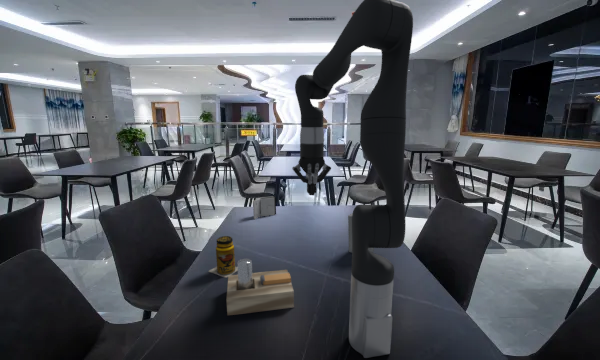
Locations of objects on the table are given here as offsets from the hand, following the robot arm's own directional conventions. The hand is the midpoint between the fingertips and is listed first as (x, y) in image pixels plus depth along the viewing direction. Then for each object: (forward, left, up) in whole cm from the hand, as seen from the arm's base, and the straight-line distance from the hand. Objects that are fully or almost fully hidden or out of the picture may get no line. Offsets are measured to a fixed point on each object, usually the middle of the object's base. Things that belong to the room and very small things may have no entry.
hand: (311, 194), depth 95 cm
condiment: (+6, +29, -28) cm, 41 cm away
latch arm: (-13, +14, -22) cm, 29 cm away
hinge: (+62, +11, -28) cm, 69 cm away
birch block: (-13, +18, -27) cm, 35 cm away
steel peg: (-13, +22, -27) cm, 37 cm away
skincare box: (+10, -23, -28) cm, 37 cm away
